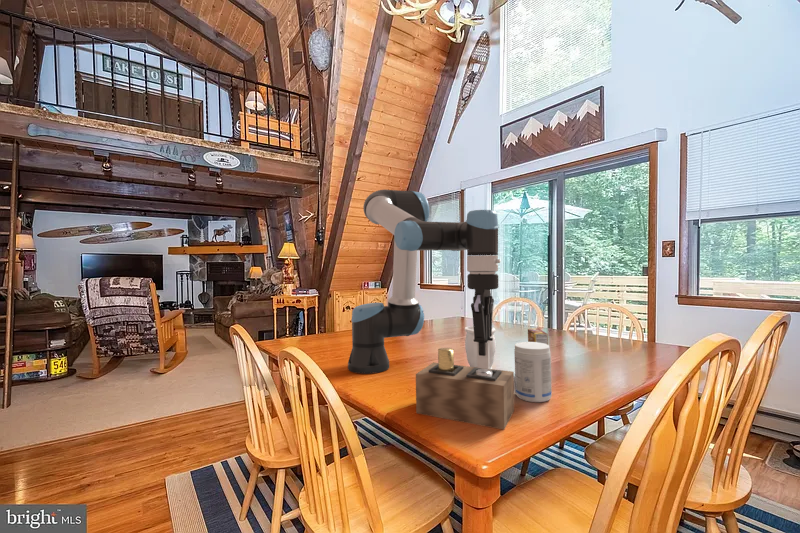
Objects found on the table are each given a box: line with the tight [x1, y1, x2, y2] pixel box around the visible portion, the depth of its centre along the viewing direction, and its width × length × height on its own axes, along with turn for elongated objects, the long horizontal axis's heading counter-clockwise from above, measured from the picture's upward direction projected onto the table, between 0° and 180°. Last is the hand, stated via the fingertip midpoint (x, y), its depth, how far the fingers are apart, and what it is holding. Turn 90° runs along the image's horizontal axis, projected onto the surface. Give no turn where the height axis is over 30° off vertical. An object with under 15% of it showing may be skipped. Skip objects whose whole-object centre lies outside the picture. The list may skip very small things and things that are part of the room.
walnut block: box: [415, 362, 515, 430], centre depth 95 cm, size 22×12×11 cm, turn 63°
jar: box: [464, 325, 497, 369], centre depth 131 cm, size 11×10×15 cm
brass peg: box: [437, 347, 455, 372], centre depth 97 cm, size 4×4×10 cm
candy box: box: [527, 328, 549, 345], centre depth 123 cm, size 9×4×15 cm, turn 177°
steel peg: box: [476, 369, 493, 377], centre depth 93 cm, size 4×4×10 cm
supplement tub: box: [513, 341, 552, 403], centre depth 105 cm, size 10×10×15 cm
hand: (483, 367), depth 93 cm, fingers closed
